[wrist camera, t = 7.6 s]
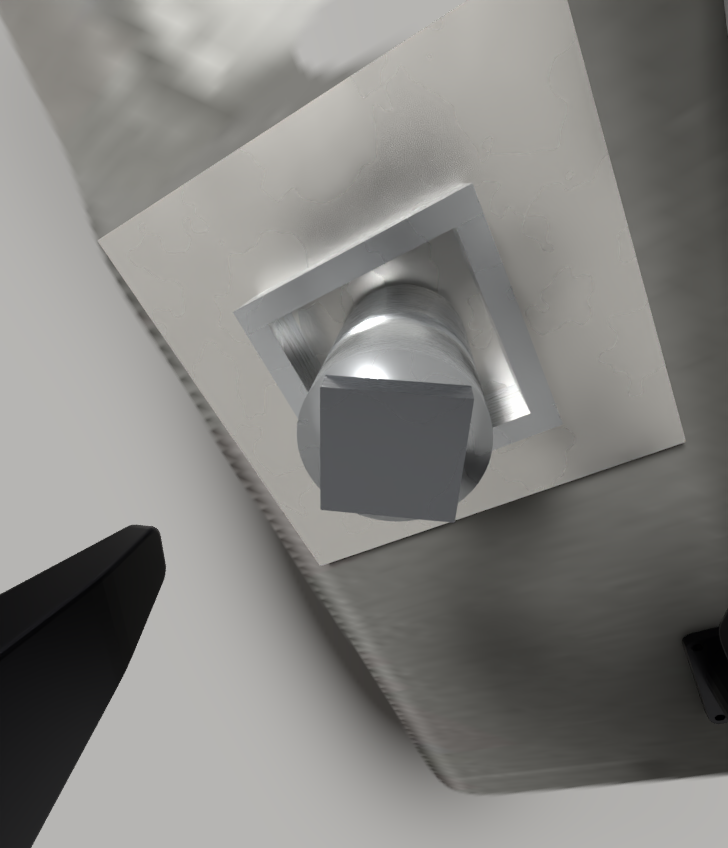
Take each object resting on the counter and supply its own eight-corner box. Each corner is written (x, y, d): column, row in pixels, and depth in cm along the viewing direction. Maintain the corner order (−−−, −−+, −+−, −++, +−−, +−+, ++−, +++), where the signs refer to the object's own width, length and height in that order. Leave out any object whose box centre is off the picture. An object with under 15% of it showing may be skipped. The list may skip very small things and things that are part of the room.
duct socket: (677, 434, 19) (725, 479, 16) (322, 557, 23) (309, 609, 20) (546, -46, 13) (584, -110, 10) (107, 238, 17) (47, 249, 15)
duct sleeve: (475, 288, 16) (515, 369, 10) (458, 410, 18) (480, 548, 12) (341, 280, 17) (286, 352, 10) (339, 401, 19) (292, 530, 12)
